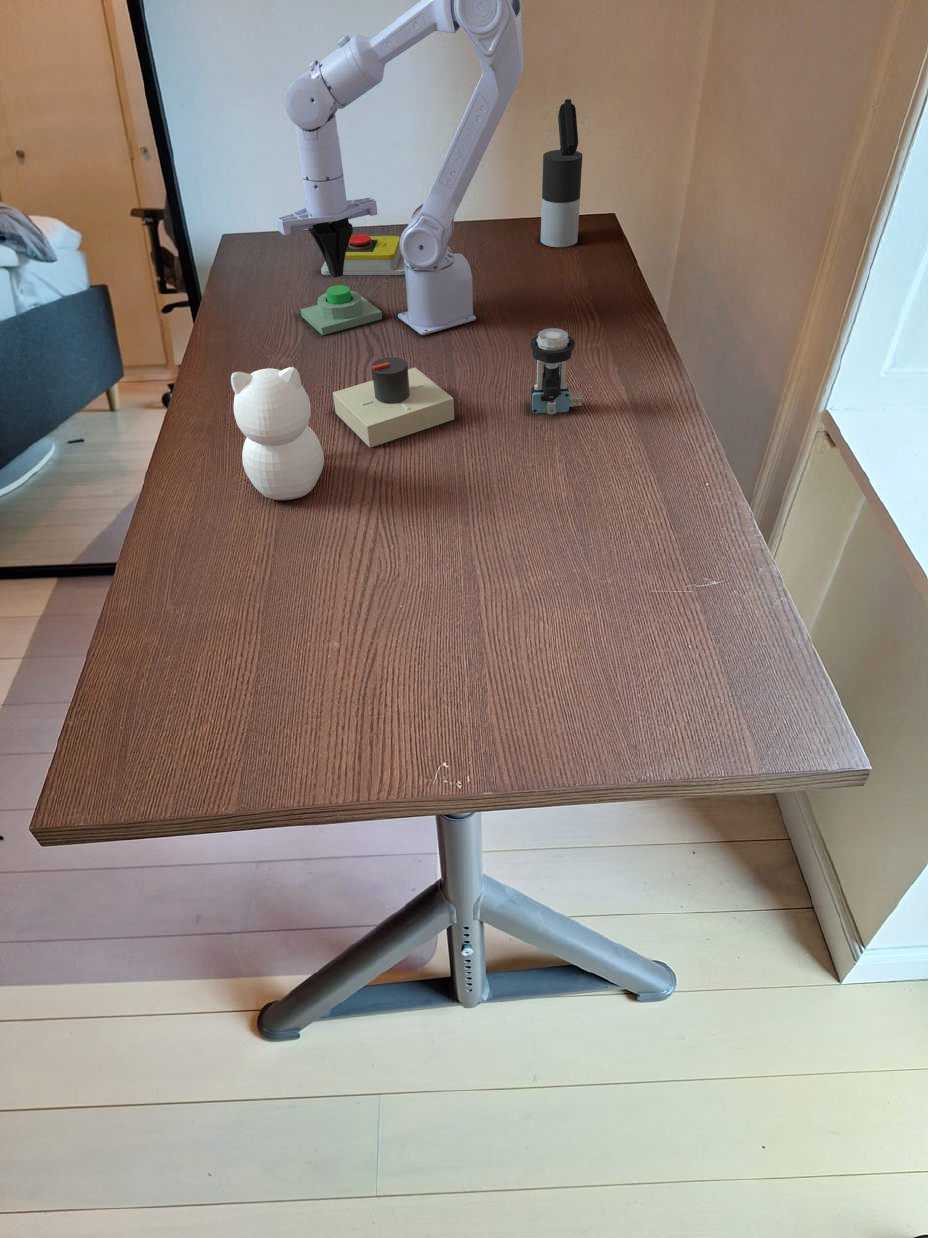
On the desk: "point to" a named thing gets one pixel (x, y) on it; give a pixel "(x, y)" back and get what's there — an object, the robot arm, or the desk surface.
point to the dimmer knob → (390, 380)
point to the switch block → (340, 314)
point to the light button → (338, 294)
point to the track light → (562, 184)
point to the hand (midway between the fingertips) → (336, 274)
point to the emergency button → (372, 256)
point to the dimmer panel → (393, 410)
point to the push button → (552, 372)
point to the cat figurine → (277, 433)
